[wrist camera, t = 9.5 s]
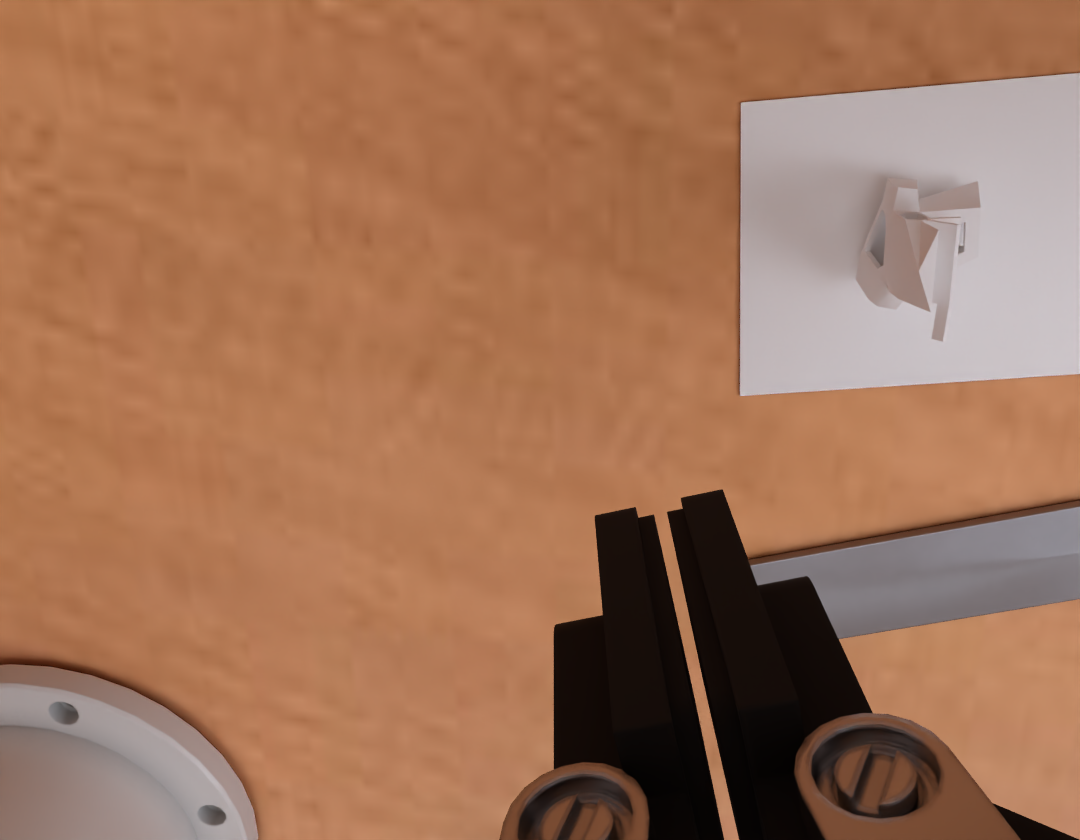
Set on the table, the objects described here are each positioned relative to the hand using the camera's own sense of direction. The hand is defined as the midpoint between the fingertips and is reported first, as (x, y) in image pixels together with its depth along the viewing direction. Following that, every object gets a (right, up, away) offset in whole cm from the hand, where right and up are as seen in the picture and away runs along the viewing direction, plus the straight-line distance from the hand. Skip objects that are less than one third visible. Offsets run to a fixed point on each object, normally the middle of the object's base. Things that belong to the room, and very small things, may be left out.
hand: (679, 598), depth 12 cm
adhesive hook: (+8, +7, +10) cm, 14 cm away
